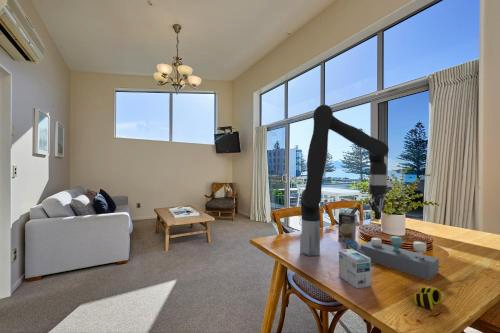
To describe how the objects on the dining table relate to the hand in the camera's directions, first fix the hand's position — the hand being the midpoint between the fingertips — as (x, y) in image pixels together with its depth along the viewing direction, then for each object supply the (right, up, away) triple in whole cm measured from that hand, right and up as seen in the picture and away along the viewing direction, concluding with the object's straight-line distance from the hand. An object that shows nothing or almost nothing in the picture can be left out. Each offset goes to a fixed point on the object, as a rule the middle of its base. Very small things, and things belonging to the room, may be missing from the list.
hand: (377, 219), depth 113 cm
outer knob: (+10, -14, -14) cm, 23 cm away
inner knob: (0, -17, +1) cm, 17 cm away
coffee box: (-4, -19, +26) cm, 33 cm away
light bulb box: (-21, -19, -22) cm, 36 cm away
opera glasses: (-4, -20, -36) cm, 42 cm away
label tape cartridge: (-16, -19, -11) cm, 27 cm away
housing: (+5, -19, -7) cm, 21 cm away
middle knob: (+5, -14, -7) cm, 17 cm away
